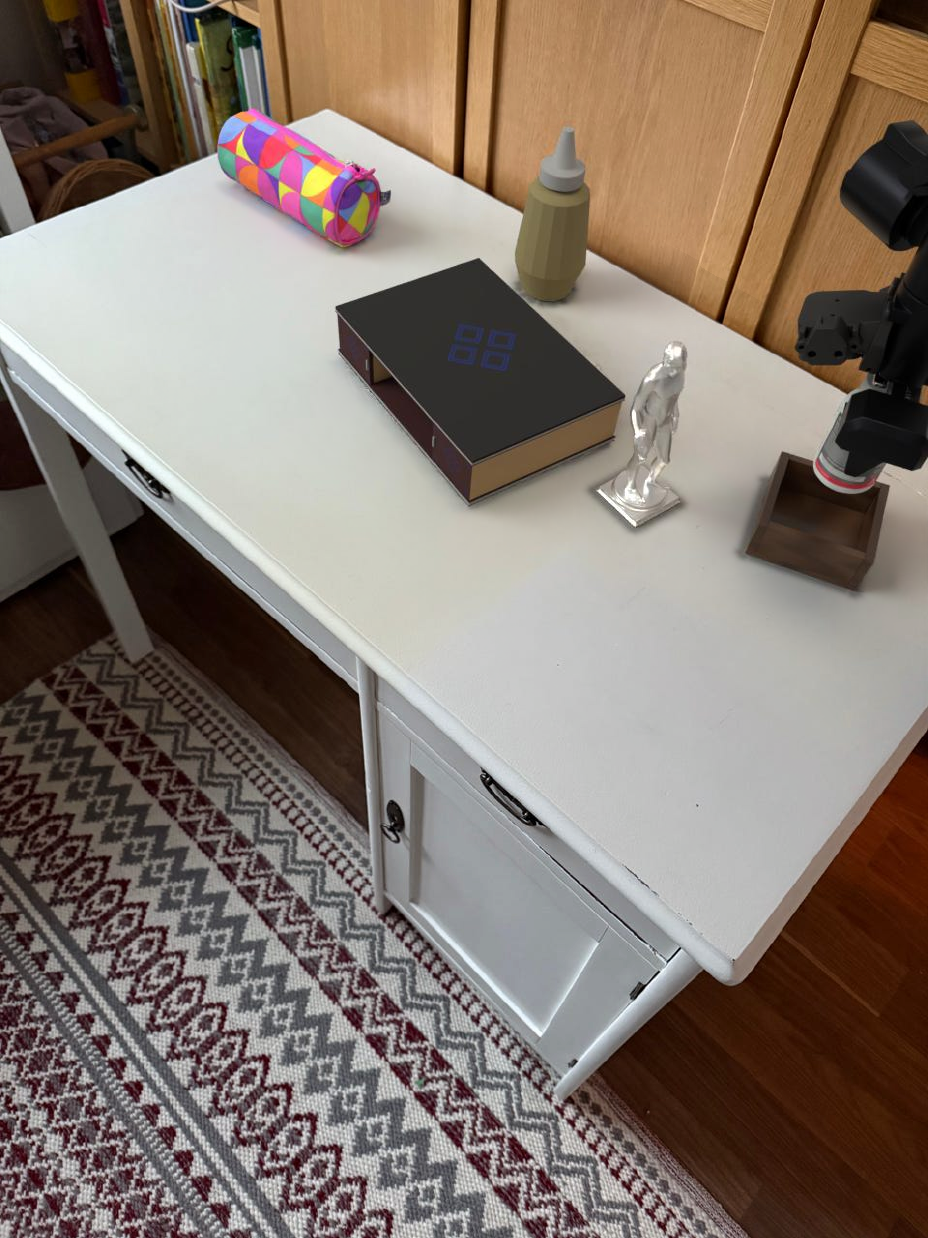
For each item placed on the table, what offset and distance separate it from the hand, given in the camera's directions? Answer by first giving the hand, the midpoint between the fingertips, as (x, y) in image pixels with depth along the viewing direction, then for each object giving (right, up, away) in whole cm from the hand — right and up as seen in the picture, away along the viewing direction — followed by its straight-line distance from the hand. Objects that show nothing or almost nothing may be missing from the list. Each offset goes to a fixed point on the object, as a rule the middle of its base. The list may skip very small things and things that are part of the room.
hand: (855, 452), depth 76 cm
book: (-32, +8, +17) cm, 37 cm away
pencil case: (-52, +36, +36) cm, 73 cm away
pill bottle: (0, -2, +2) cm, 3 cm away
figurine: (-17, -3, +10) cm, 20 cm away
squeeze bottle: (-23, +24, +29) cm, 45 cm away
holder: (0, -6, +9) cm, 11 cm away
